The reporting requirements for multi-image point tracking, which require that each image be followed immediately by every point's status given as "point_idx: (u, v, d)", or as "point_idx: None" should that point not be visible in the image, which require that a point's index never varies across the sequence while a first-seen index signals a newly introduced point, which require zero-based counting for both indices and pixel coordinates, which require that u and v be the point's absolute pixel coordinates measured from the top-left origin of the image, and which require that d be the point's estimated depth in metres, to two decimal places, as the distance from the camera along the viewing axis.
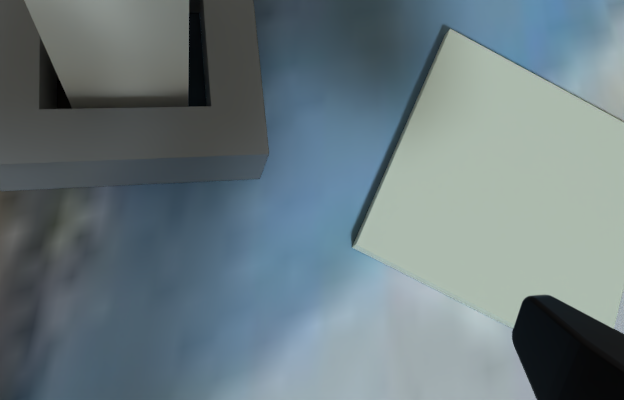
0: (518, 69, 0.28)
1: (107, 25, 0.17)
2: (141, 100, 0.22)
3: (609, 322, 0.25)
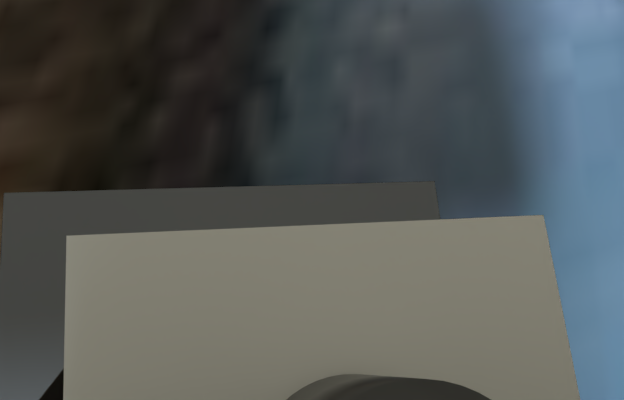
0: None
1: None
2: None
3: None
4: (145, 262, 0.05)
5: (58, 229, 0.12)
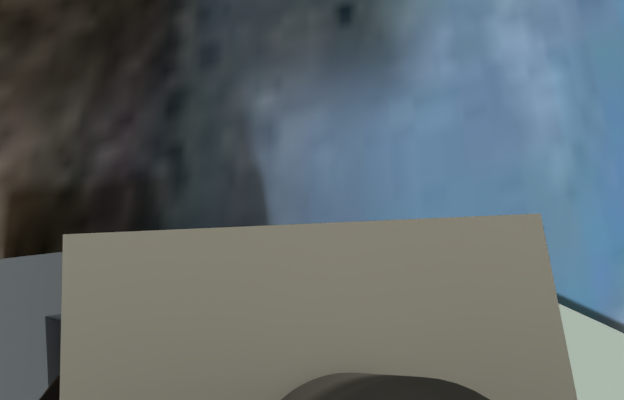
0: (587, 321, 0.25)
1: None
2: None
3: None
4: (141, 261, 0.05)
5: (13, 283, 0.18)
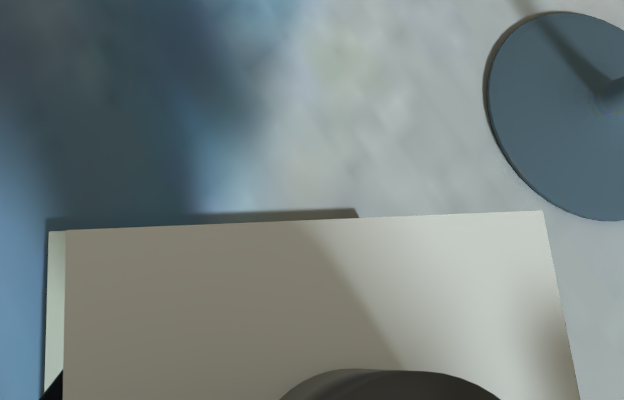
0: None
1: None
2: None
3: None
4: (144, 257, 0.05)
5: None
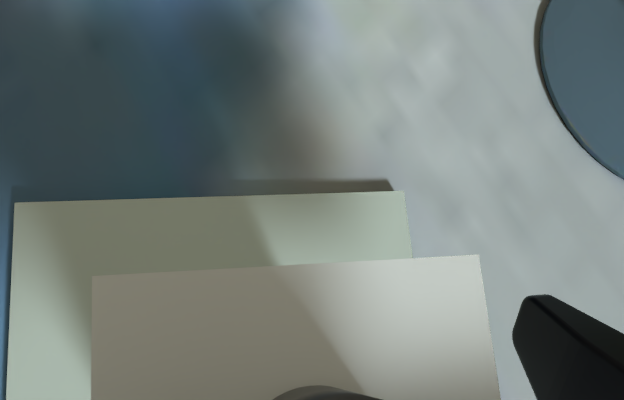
0: (154, 204, 0.17)
1: None
2: None
3: None
4: (153, 296, 0.06)
5: None
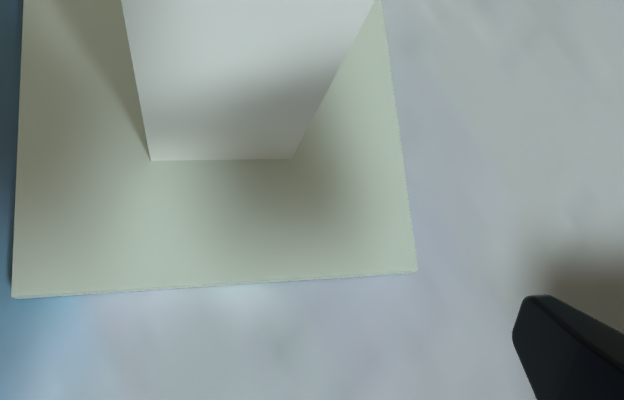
0: None
1: (234, 41, 0.11)
2: (241, 137, 0.16)
3: (402, 208, 0.19)
4: None
5: None
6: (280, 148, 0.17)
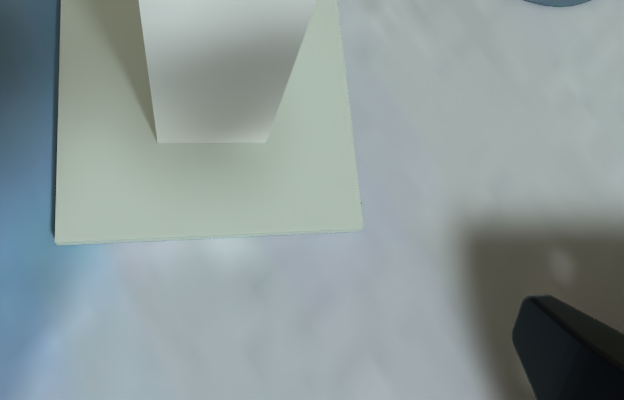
0: None
1: (216, 54, 0.17)
2: (226, 124, 0.22)
3: (352, 181, 0.24)
4: None
5: None
6: (256, 133, 0.23)
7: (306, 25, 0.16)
